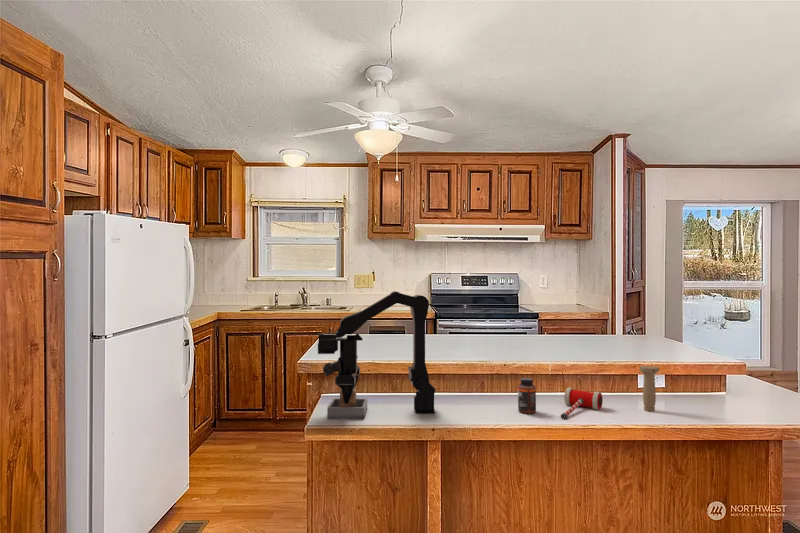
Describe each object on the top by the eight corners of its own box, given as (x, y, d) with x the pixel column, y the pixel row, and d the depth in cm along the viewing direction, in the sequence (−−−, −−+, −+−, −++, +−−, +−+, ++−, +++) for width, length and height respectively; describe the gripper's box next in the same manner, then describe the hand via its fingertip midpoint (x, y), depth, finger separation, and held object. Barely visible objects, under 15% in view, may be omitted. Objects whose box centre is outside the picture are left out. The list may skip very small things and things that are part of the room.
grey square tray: (367, 408, 173) (367, 398, 173) (364, 418, 161) (364, 407, 161) (333, 408, 173) (333, 398, 173) (327, 418, 161) (327, 407, 161)
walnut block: (356, 408, 170) (356, 387, 170) (354, 412, 165) (354, 391, 165) (341, 408, 170) (341, 387, 170) (339, 412, 165) (339, 391, 165)
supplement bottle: (537, 410, 171) (537, 378, 171) (533, 415, 166) (533, 381, 166) (520, 408, 174) (520, 376, 174) (516, 412, 169) (516, 379, 169)
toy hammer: (581, 423, 158) (581, 403, 158) (545, 417, 165) (545, 397, 165) (603, 408, 176) (603, 390, 176) (570, 403, 183) (570, 386, 183)
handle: (636, 409, 174) (636, 366, 174) (653, 408, 175) (652, 365, 175) (645, 412, 169) (645, 368, 169) (662, 412, 170) (662, 368, 170)
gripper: (329, 349, 177) (328, 393, 177) (319, 358, 158) (319, 407, 158) (360, 349, 177) (360, 393, 176) (354, 358, 158) (354, 407, 158)
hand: (348, 400), depth 167 cm, fingers open, 9 cm apart
